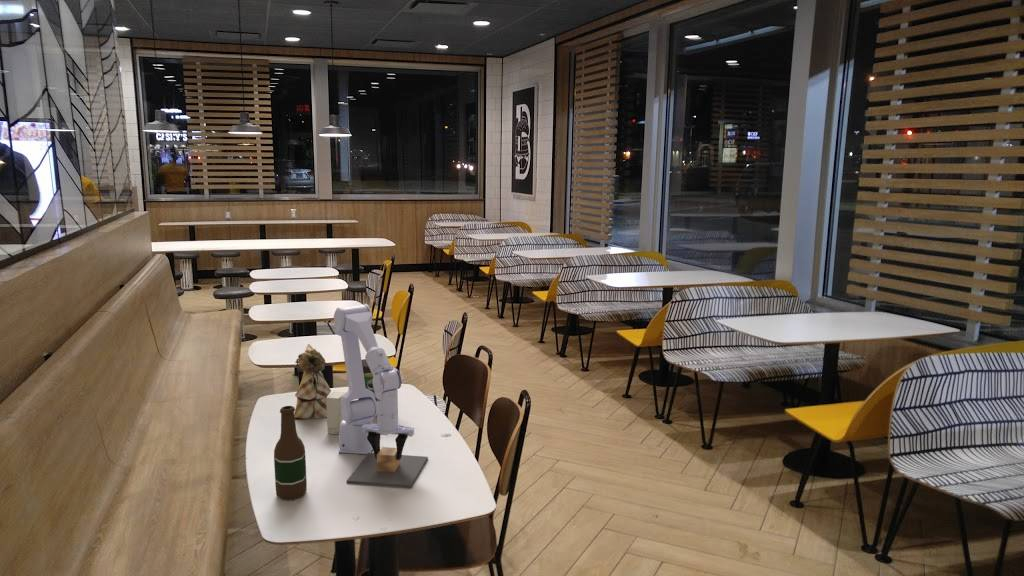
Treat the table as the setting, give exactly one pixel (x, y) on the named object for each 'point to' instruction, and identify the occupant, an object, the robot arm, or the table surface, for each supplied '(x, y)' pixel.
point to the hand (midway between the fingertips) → (388, 457)
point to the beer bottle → (289, 459)
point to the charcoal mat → (399, 478)
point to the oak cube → (387, 460)
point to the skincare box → (334, 412)
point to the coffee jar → (368, 378)
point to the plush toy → (311, 386)
